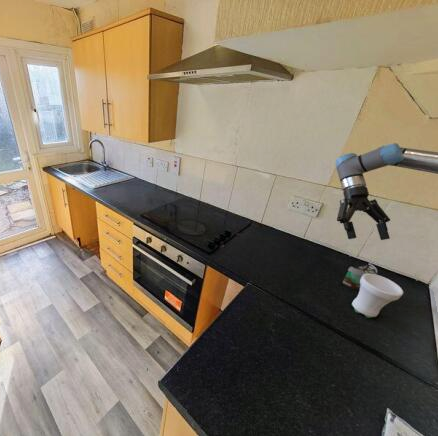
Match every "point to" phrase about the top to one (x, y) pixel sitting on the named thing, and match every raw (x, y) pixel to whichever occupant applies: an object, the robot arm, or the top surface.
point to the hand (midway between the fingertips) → (368, 238)
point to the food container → (358, 275)
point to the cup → (375, 294)
